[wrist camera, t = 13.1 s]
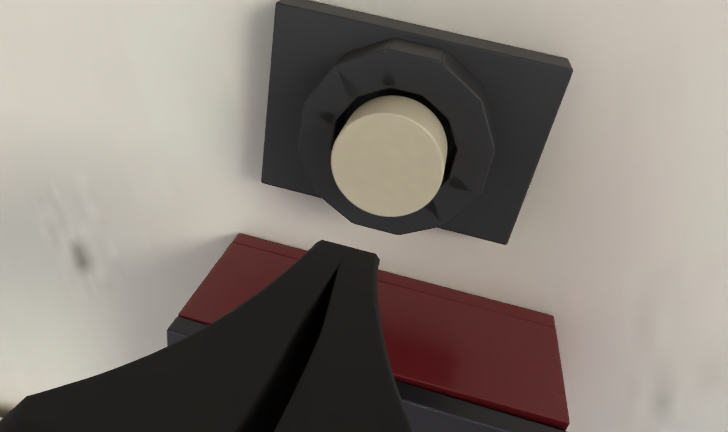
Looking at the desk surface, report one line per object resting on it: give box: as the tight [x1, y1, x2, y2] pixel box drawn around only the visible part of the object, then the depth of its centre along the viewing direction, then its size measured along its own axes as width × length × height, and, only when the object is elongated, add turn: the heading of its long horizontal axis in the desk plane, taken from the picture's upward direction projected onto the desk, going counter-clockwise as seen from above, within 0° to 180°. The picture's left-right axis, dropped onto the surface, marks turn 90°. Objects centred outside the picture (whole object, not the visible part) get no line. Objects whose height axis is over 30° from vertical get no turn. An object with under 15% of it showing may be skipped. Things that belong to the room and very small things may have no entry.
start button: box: [331, 95, 448, 217], centre depth 18 cm, size 4×4×2 cm
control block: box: [261, 0, 573, 245], centre depth 20 cm, size 10×7×3 cm
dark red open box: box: [178, 234, 570, 431], centre depth 26 cm, size 15×13×6 cm
